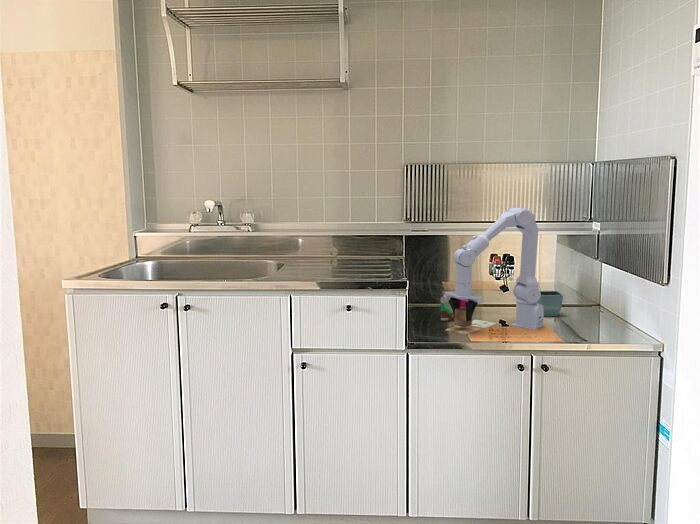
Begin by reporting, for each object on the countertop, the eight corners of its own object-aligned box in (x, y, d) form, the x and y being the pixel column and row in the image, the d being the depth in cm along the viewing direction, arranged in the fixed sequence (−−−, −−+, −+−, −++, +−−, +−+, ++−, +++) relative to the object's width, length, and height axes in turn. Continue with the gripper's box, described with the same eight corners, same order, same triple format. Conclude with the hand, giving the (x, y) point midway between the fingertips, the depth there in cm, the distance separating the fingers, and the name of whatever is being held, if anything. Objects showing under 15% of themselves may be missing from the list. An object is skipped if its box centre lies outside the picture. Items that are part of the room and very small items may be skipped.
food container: (456, 323, 240) (457, 297, 239) (440, 323, 241) (440, 297, 240) (458, 316, 252) (458, 291, 250) (442, 315, 253) (442, 291, 252)
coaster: (480, 330, 230) (480, 328, 230) (466, 335, 224) (466, 333, 224) (458, 326, 236) (458, 324, 236) (445, 331, 230) (445, 329, 230)
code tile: (496, 323, 239) (496, 323, 239) (484, 328, 232) (484, 327, 232) (476, 320, 245) (476, 319, 245) (463, 324, 238) (463, 324, 238)
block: (471, 324, 230) (472, 308, 229) (465, 327, 227) (465, 310, 226) (461, 323, 233) (461, 307, 232) (454, 325, 230) (454, 309, 229)
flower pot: (534, 312, 256) (535, 290, 255) (556, 312, 256) (557, 290, 255) (540, 317, 248) (540, 295, 246) (562, 317, 247) (563, 295, 246)
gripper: (440, 281, 229) (439, 318, 231) (475, 286, 219) (474, 324, 222) (451, 279, 234) (450, 315, 236) (485, 283, 225) (484, 321, 227)
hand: (462, 319), depth 229 cm, fingers closed on block, 4 cm apart
